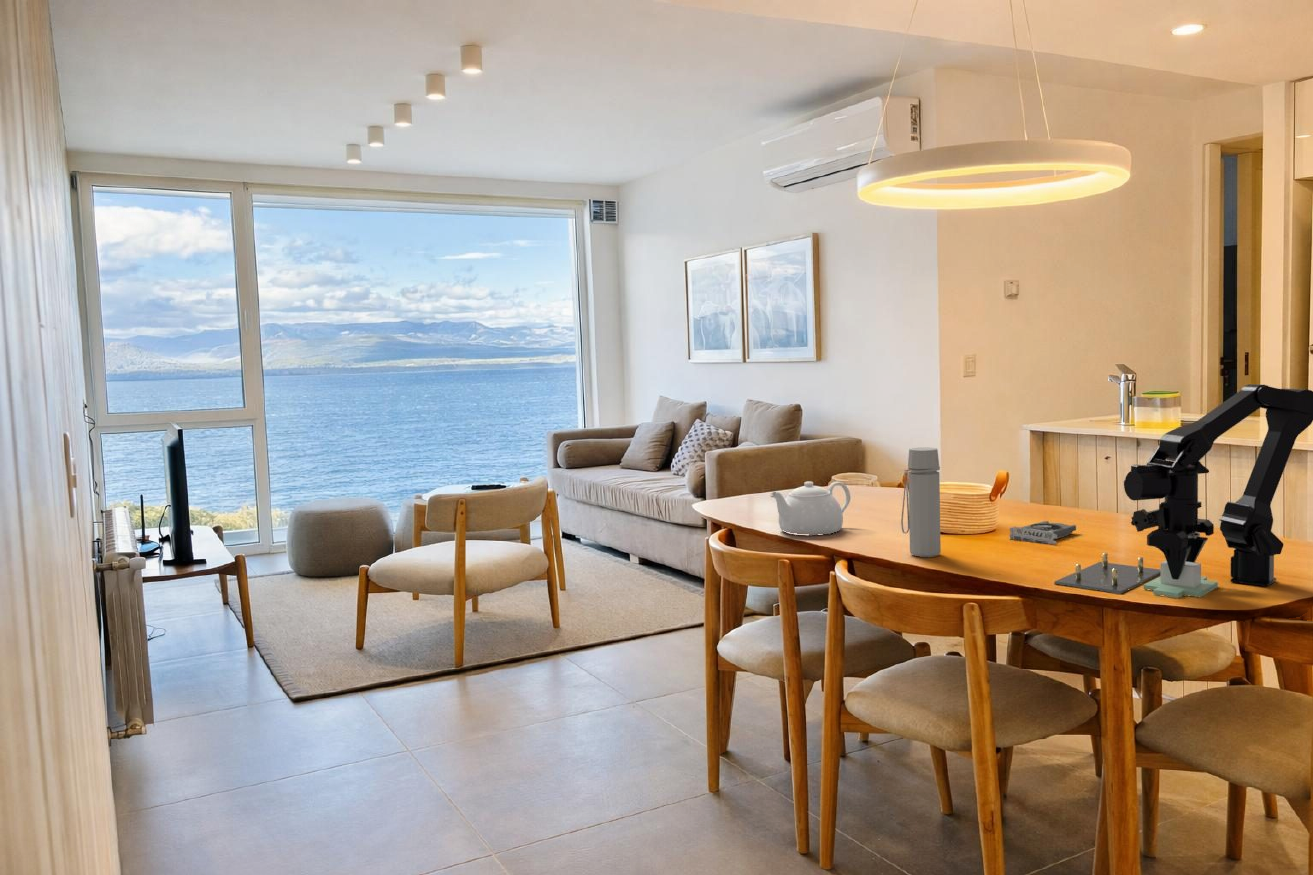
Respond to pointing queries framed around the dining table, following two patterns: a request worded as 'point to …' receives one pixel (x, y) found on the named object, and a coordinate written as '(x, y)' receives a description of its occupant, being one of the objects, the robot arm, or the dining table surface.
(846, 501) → the teapot
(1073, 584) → the plate
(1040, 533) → the graphics card
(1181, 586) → the board
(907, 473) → the water bottle
